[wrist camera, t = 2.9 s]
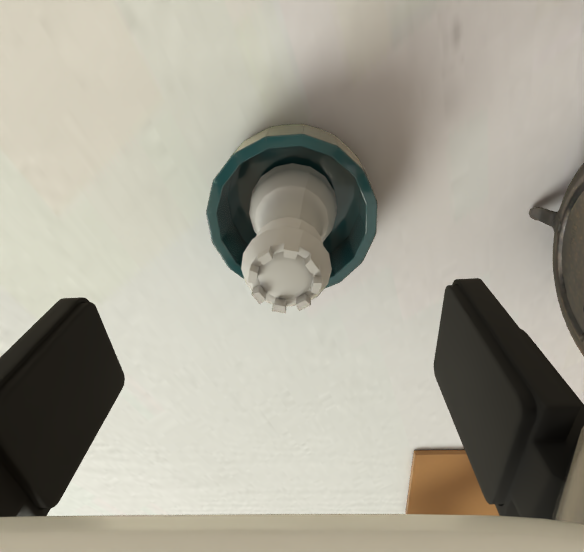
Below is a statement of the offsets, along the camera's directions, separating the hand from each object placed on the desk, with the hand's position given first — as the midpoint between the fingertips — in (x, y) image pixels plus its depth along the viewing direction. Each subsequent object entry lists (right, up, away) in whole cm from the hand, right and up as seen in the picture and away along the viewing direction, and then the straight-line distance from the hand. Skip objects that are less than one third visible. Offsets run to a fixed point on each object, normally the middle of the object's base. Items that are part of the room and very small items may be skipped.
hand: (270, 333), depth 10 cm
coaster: (+15, -16, +21) cm, 31 cm away
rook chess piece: (+1, +5, +10) cm, 11 cm away
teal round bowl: (+1, +5, +10) cm, 11 cm away
